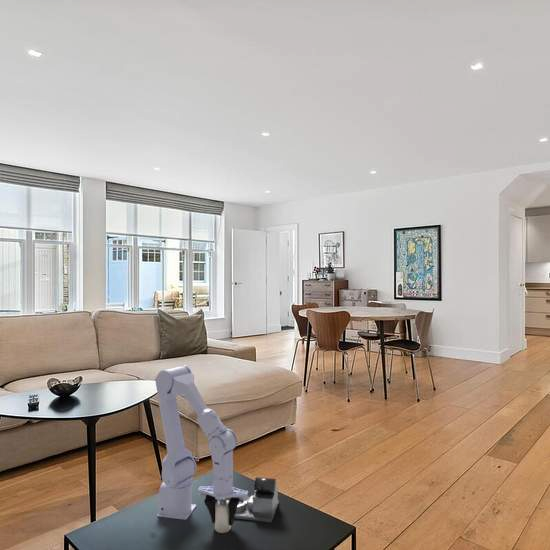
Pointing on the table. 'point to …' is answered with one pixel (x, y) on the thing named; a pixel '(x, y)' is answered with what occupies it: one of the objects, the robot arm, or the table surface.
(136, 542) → the table surface
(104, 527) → the table surface
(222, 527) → the white bottle
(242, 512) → the grey machine
